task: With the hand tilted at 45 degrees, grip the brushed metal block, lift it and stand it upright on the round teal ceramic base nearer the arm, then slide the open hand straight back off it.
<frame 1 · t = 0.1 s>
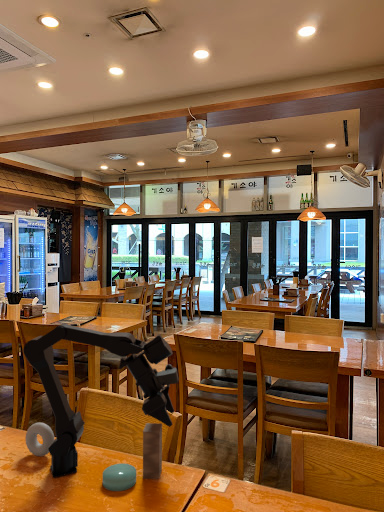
hand: (172, 418, 111), 15 cm above the table, tool tilted 35°, fingers open, 9 cm apart
donut: (39, 456, 119), on the table
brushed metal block: (152, 473, 110), on the table
teal base: (119, 481, 105), on the table
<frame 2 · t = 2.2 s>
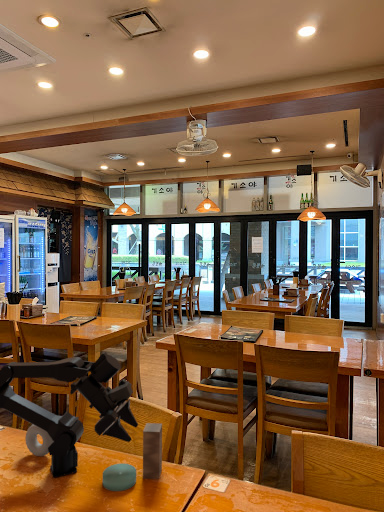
hand: (133, 433, 110), 11 cm above the table, tool tilted 45°, fingers open, 9 cm apart
nothing on the table moved.
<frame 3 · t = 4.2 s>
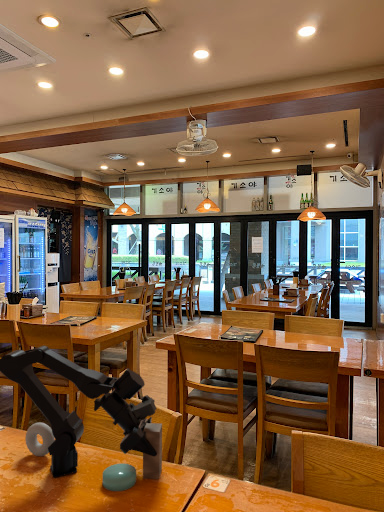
hand: (157, 450, 110), 7 cm above the table, tool tilted 45°, fingers closed on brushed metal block, 5 cm apart
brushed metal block: (152, 473, 110), on the table, touching gripper
everything else where it was.
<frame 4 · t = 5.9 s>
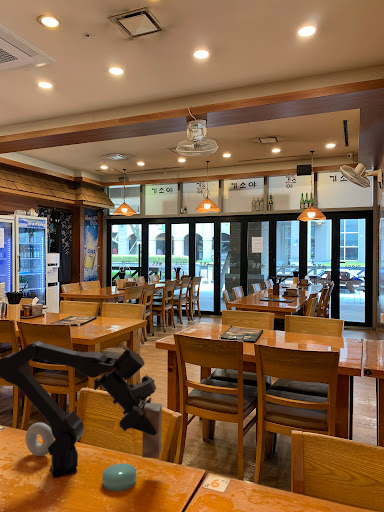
hand: (157, 429, 110), 12 cm above the table, tool tilted 45°, fingers closed on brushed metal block, 5 cm apart
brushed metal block: (152, 452, 110), point 6 cm above the table, touching gripper
everything else where it was.
when the fingers open (10 cm above the table, at t = 7.8 s): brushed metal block stays where it is, resting on teal base.
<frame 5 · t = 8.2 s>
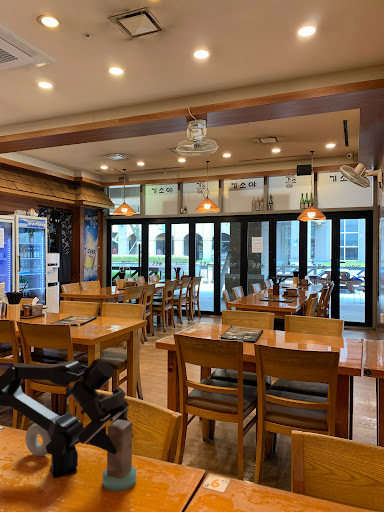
hand: (124, 445, 105), 10 cm above the table, tool tilted 45°, fingers open, 9 cm apart
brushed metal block: (119, 472, 106), point 3 cm above the table, touching teal base
everything else where it was.
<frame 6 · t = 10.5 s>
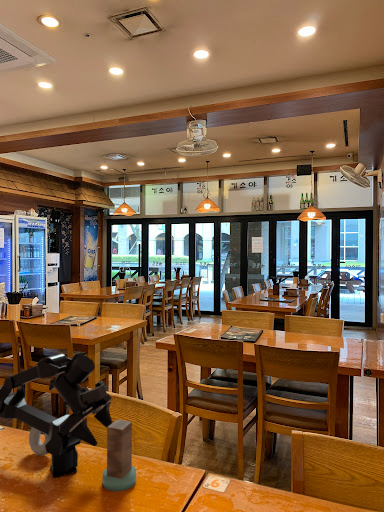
hand: (105, 437, 107), 11 cm above the table, tool tilted 45°, fingers open, 9 cm apart
donut: (39, 455, 119), on the table, touching arm
everything else where it was.
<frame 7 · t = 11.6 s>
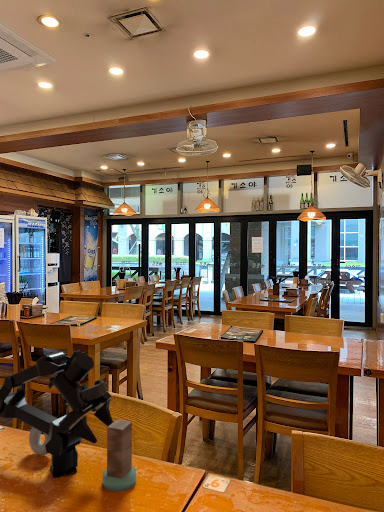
hand: (105, 435, 107), 12 cm above the table, tool tilted 45°, fingers open, 9 cm apart
nothing on the table moved.
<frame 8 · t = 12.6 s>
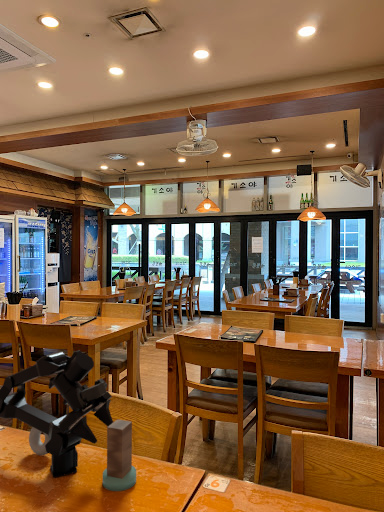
hand: (105, 435, 107), 12 cm above the table, tool tilted 45°, fingers open, 9 cm apart
nothing on the table moved.
at the end: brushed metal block 0.0 cm off-centre on the teal base, point 2.5 cm above the teal base's base; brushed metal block tilted 0°; the gripper is holding nothing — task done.
